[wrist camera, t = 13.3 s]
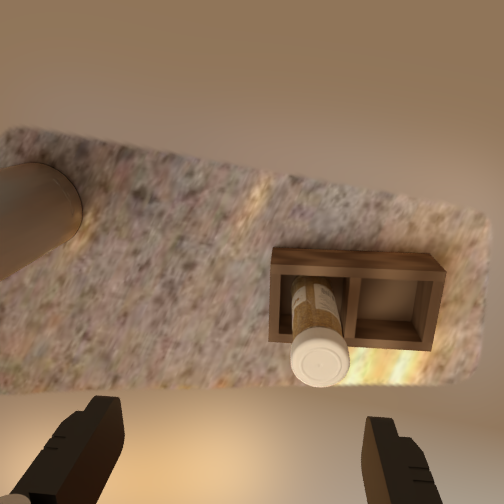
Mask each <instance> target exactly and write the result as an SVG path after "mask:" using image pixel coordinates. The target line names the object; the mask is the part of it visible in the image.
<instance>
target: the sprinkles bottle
mask: <svg viewBox="0 0 504 504" xmlns="http://www.w3.org/2000/svg"><path fill="white" fill-rule="evenodd" d="M291 295H292V331H293V342H292V345H291V352H290V358H291V368H292V370H293V372H294V374H295V376H296V377H297V378H298V379H299V380H300V381H302V382H303V383H305V384H307V385H310V386H313V387H329V386H332V385H334V384H336V383H338V382H340V381H341V380H342V379H343V378H344V377H345V376H346V374H347V372H348V370H349V367H350V358H349V352H348V347H347V344H346V342H345V340H344V339H343V336H342V328H341V322H340V318H339V314H338V310H337V306H336V301H335V297H334V295H333V285H332V283H331V281H330V280H329V278H328V277H327V276H307V275H299V276H297V277H296V278H295V280H294V281H293V283H292V286H291Z"/></svg>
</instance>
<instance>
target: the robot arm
mask: <svg viewBox="0 0 504 504" xmlns="http://www.w3.org/2000/svg"><path fill="white" fill-rule="evenodd" d="M81 220H82V206H81V201H80V198H79V196H78V193H77V191H76V189H75V188H74V186H73V185H72V183H71V182H70V181H69V180H68V179H67V178H66V177H65V176H64V175H63V174H62V173H60V172H59V171H58V170H56V169H54V168H52V167H50V166H48V165H45V164H41V163H32V162H31V163H24V164H19V165H15V166H10V167H6V168H0V281H2V280H4V279H5V278H7V277H9V276H10V275H12V274H14V273H15V272H17V271H19V270H20V269H22V268H24V267H25V266H27V265H28V264H30V263H32V262H33V261H35V260H37V259H38V258H40V257H42V256H43V255H45V254H47V253H49V252H50V251H52V250H53V249H55V248H57V247H58V246H60V245H61V244H63V243H65V242H66V241H68V240H69V239H71V238H72V237H73V236H74V235H75V234H76V232H77V230H78V229H79V227H80V224H81ZM124 437H125V433H124V425H123V418H122V410H121V403H120V399H119V398H118V397H110V396H94V397H93V398H92V400H91V401H90V402H89V404H88V405H87V407H86V408H85V410H84V411H75V412H74V413H73V414H72V415H70V416H69V417H68V418H66V419H65V420H64V421H63V422H61V424H60V425H59V427H58V428H57V429H56V431H55V432H54V434H53V435H52V438H50V439H49V440H48V442H47V443H46V445H45V446H44V449H43V450H41V451H40V453H39V454H38V456H37V457H36V458H35V460H34V461H33V462H32V464H31V465H30V467H29V468H28V469H27V471H26V472H25V474H24V475H23V476H22V478H21V479H20V480H19V482H18V483H17V485H16V486H15V488H14V489H13V490H12V491H11V493H10V494H9V495H5V496H2V497H0V504H96V503H97V501H98V499H99V497H100V495H101V493H102V490H103V489H104V487H105V485H106V483H107V480H108V478H109V476H110V474H111V472H112V470H113V468H114V466H115V464H116V462H117V460H118V458H119V456H120V454H121V451H122V448H123V444H124ZM361 467H362V476H363V481H364V486H365V492H366V497H367V502H368V504H443V503H442V500H441V498H440V495H439V492H438V490H437V487H436V485H435V484H434V479H433V477H432V474H431V472H430V471H429V466H428V463H427V461H426V458H425V455H424V453H423V451H422V450H421V449H420V448H419V447H418V445H417V444H416V443H415V442H414V441H413V440H412V438H410V437H399V436H398V433H397V430H396V427H395V424H394V421H393V419H392V418H384V417H370V416H368V417H367V418H366V424H365V431H364V439H363V446H362V454H361Z"/></svg>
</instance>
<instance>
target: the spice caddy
mask: <svg viewBox="0 0 504 504" xmlns="http://www.w3.org/2000/svg"><path fill="white" fill-rule="evenodd" d="M299 275H307V276H327V277H328V278H329V280H330V281H331V283H332V285H333V295H334V297H335V301H336V306H337V310H338V314H339V318H340V322H341V328H342V336H343V339H344V340H345V342H346V344H347V346H349V347H366V348H382V349H399V350H416V351H431V349H432V344H433V339H434V334H435V328H436V323H437V318H438V313H439V308H440V303H441V297H442V292H443V287H444V282H445V277H446V271H445V270H444V269H443V268H442V267H441V265H440V264H439V263H438V262H437V261H436V260H435V259H434V258H433V257H432V256H431V255H430V254H424V253H399V252H374V251H349V250H324V249H299V248H274V247H273V250H272V258H271V269H270V305H269V341H268V342H282V343H292V342H293V331H292V295H291V286H292V283H293V281H294V280H295V278H296V277H297V276H299Z"/></svg>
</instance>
